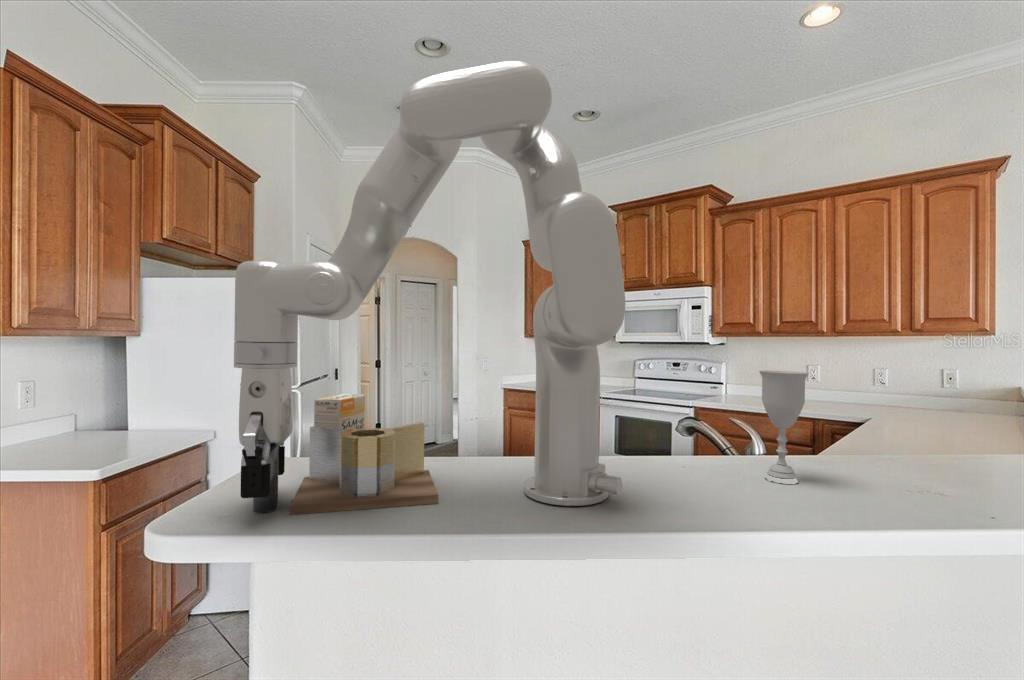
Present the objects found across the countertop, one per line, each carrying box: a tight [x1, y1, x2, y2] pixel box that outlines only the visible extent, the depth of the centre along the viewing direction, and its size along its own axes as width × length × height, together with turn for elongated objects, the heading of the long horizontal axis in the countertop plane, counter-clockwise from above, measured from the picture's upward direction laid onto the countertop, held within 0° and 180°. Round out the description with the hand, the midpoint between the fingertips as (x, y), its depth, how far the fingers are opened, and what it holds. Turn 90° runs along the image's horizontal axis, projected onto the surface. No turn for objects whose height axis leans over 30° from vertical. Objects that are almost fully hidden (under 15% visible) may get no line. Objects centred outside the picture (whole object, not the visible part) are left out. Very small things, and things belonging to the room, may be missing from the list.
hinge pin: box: [252, 443, 279, 514], centre depth 65 cm, size 4×4×10 cm
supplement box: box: [313, 393, 366, 430], centre depth 82 cm, size 8×5×13 cm, turn 168°
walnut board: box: [289, 469, 439, 516], centre depth 72 cm, size 13×19×1 cm
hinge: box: [308, 422, 425, 498], centre depth 73 cm, size 11×17×8 cm, turn 105°
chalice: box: [758, 370, 810, 479], centre depth 82 cm, size 7×7×18 cm
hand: (264, 485), depth 65 cm, fingers open, 9 cm apart
